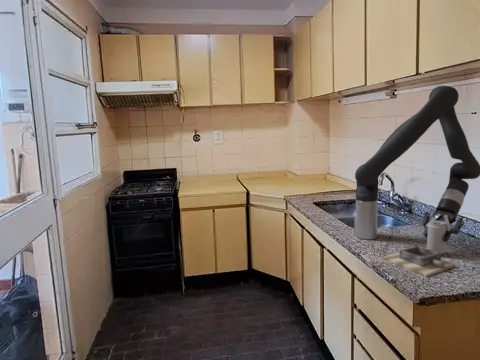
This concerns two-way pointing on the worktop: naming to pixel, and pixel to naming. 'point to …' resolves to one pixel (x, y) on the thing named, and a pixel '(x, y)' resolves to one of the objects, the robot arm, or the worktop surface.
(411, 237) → the worktop surface
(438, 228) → the beverage can
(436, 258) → the block
